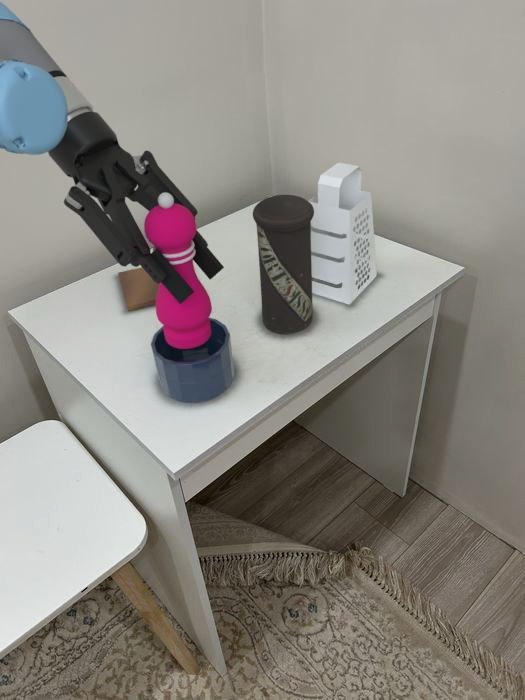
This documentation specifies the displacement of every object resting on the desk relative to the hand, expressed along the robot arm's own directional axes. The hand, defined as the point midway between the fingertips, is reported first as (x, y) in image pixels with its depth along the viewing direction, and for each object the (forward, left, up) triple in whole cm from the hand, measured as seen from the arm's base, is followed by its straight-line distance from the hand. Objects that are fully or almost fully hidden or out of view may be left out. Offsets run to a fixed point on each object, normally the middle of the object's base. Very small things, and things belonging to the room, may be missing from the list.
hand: (202, 285), depth 66 cm
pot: (-2, +3, -17) cm, 17 cm away
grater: (+27, +18, -17) cm, 36 cm away
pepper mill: (-2, +3, -9) cm, 10 cm away
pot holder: (-3, +30, -17) cm, 34 cm away
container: (+15, +11, -17) cm, 25 cm away
